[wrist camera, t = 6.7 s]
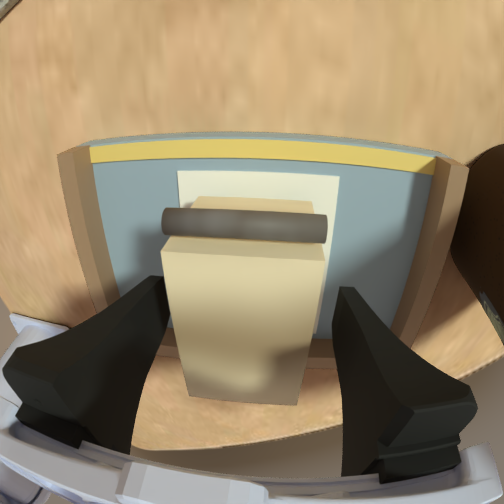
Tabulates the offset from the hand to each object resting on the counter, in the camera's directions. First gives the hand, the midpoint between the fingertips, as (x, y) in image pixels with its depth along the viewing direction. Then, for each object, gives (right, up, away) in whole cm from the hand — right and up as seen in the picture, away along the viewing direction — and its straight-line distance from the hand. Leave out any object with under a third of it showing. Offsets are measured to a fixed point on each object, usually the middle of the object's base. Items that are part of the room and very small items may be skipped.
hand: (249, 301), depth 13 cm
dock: (0, +2, +4) cm, 4 cm away
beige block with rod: (0, +2, +2) cm, 3 cm away
